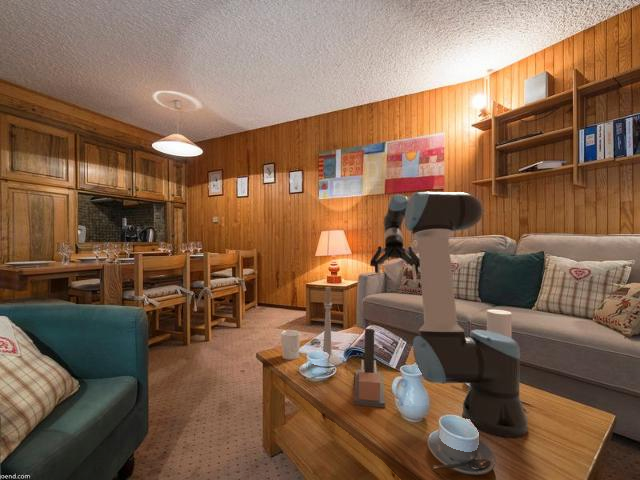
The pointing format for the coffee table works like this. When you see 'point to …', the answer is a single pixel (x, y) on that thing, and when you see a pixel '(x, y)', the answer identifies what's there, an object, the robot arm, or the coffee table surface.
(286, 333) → the white cup
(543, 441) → the coffee table surface
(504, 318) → the cylindrical container
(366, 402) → the tube stand
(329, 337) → the candlestick
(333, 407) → the coffee table surface
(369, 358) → the tube
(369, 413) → the coffee table surface
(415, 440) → the coffee table surface
